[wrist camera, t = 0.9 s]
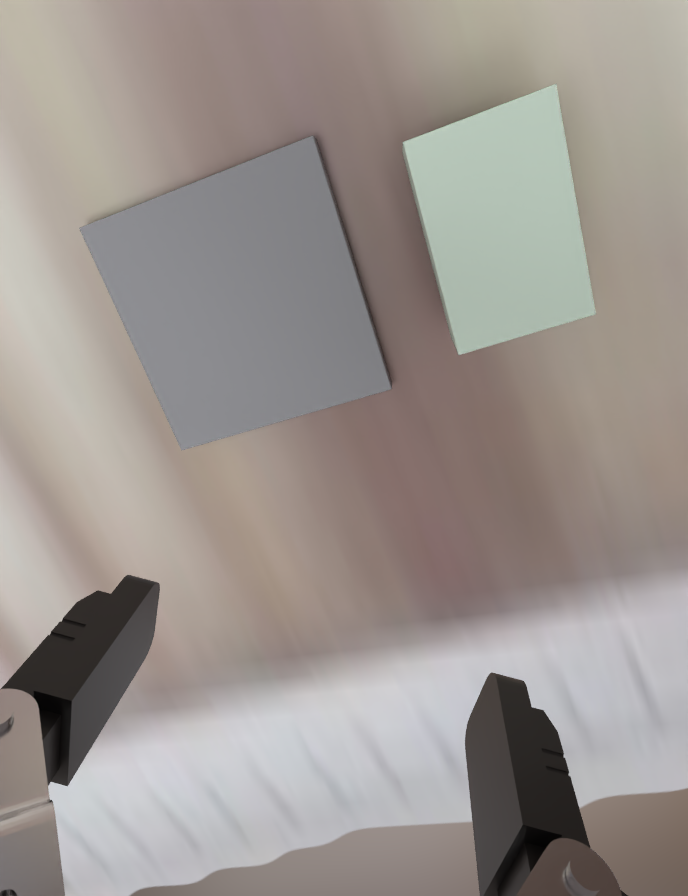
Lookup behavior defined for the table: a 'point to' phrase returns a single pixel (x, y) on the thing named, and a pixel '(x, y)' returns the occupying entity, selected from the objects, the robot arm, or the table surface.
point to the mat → (242, 297)
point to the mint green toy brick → (502, 221)
